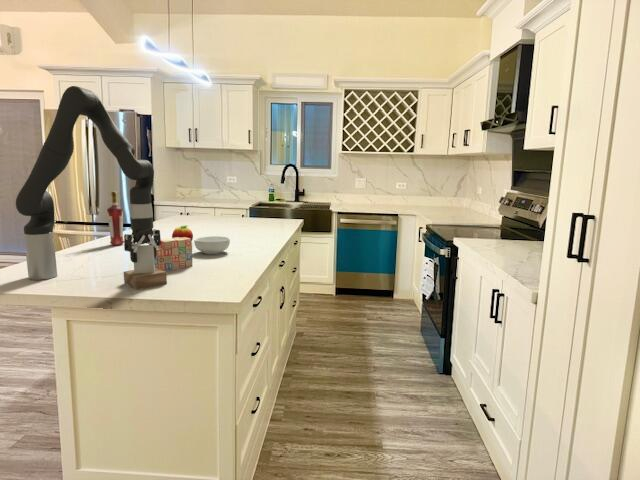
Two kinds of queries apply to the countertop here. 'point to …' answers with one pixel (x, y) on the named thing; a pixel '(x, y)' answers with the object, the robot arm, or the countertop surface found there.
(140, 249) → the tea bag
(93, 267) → the countertop surface
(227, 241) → the cereal bowl
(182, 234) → the fruit
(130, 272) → the walnut block
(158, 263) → the stack of blocks
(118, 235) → the liquor
